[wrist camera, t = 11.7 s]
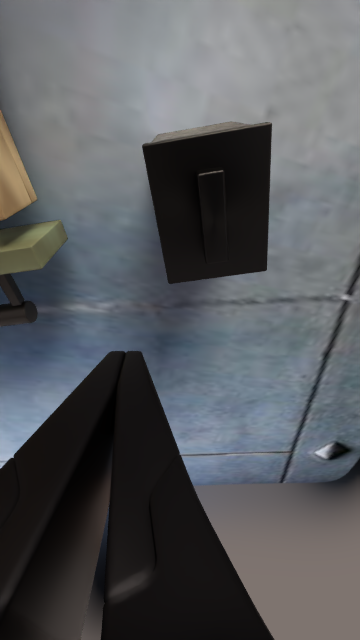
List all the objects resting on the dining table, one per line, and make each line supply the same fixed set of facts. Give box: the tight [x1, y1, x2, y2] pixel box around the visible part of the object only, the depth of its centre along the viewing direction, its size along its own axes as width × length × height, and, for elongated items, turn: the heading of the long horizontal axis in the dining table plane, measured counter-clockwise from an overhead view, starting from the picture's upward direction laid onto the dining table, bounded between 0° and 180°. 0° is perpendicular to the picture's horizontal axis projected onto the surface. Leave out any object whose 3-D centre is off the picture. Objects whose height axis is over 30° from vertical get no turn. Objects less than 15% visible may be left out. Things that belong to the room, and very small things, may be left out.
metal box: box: [142, 122, 272, 284], centre depth 13 cm, size 5×4×8 cm
